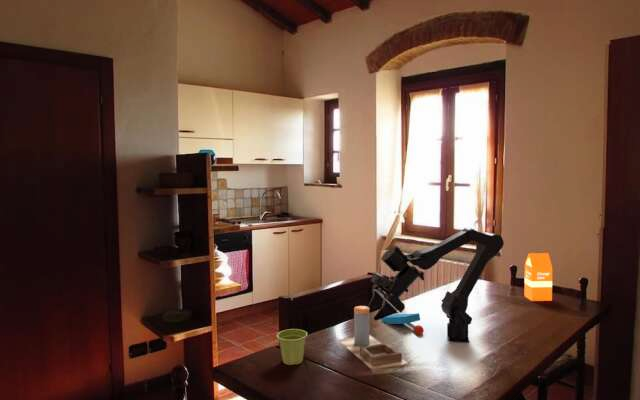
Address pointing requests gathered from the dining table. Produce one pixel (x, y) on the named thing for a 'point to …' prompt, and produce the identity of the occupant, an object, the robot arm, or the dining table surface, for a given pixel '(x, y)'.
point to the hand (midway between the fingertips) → (370, 315)
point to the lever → (405, 321)
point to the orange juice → (538, 277)
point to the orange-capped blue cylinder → (361, 326)
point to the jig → (375, 354)
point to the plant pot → (292, 345)
